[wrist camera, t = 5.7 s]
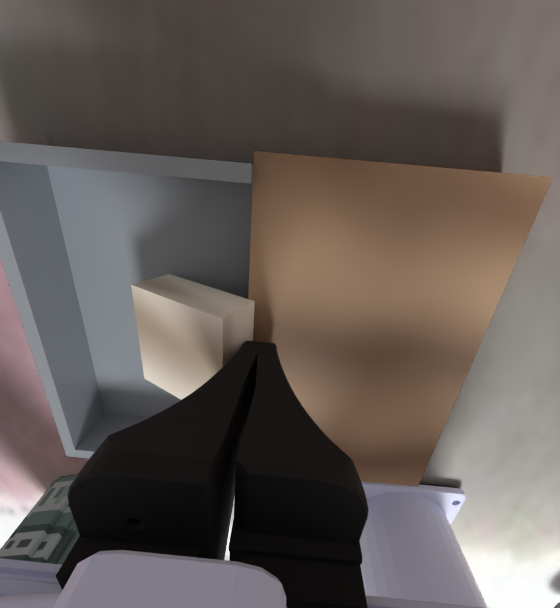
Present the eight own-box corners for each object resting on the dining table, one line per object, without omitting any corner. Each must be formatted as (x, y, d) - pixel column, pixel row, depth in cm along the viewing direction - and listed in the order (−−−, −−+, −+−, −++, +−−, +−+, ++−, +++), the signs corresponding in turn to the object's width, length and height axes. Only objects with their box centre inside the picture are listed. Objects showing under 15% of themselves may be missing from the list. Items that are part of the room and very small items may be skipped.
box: (248, 428, 18) (240, 473, 15) (100, 414, 18) (66, 456, 15) (261, 166, 12) (251, 163, 9) (36, 147, 12) (-40, 137, 9)
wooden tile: (249, 395, 14) (222, 423, 12) (176, 359, 16) (144, 378, 14) (255, 301, 12) (222, 319, 10) (169, 273, 14) (131, 284, 12)
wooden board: (402, 448, 18) (417, 486, 16) (248, 433, 18) (241, 469, 16) (502, 177, 12) (553, 177, 9) (261, 156, 12) (253, 151, 9)
